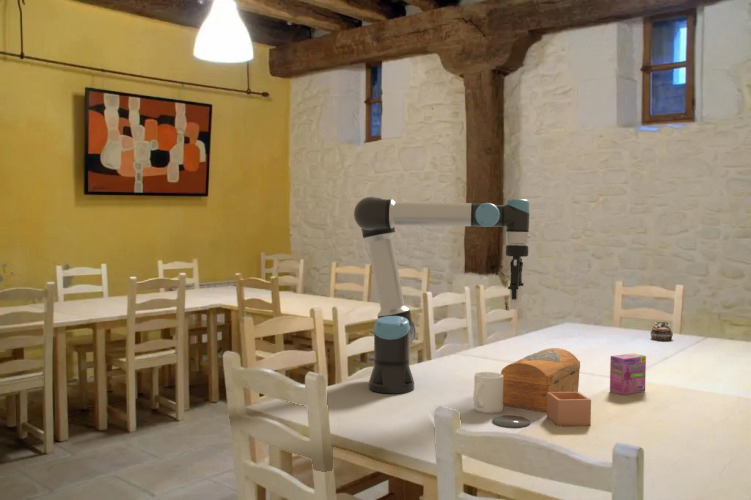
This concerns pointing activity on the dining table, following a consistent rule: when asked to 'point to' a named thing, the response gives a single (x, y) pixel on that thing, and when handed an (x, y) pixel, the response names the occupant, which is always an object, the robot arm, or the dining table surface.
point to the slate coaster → (511, 421)
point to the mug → (488, 392)
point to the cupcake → (661, 332)
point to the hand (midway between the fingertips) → (515, 307)
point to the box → (627, 373)
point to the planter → (569, 408)
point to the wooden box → (539, 378)
